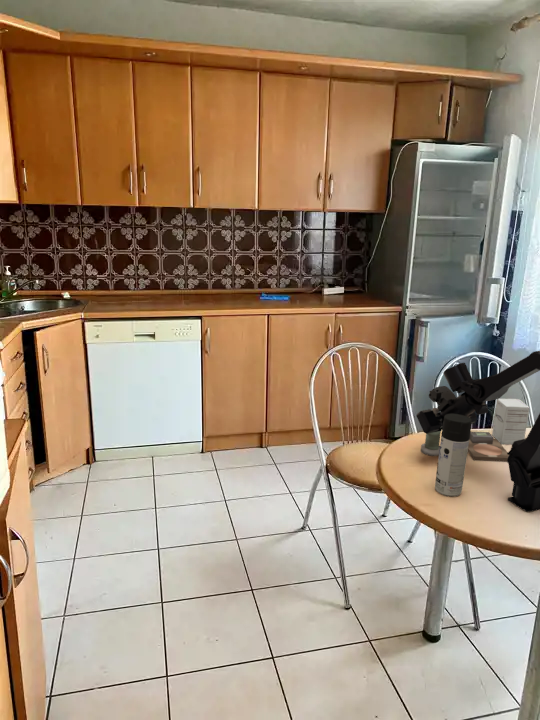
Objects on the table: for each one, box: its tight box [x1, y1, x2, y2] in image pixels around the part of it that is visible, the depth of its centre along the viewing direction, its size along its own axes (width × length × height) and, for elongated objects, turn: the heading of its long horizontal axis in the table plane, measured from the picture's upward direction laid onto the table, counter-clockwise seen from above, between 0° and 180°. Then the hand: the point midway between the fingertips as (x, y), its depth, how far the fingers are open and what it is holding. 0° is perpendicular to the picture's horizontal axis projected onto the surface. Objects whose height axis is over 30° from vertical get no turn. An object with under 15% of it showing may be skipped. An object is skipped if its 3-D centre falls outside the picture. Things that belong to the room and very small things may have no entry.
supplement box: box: [491, 398, 531, 446], centre depth 173 cm, size 7×7×13 cm
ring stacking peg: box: [420, 407, 442, 457], centre depth 163 cm, size 6×6×14 cm
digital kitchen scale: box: [467, 430, 509, 463], centre depth 166 cm, size 14×11×4 cm
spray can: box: [434, 414, 472, 498], centre depth 139 cm, size 7×7×20 cm
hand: (430, 429), depth 164 cm, fingers closed on ring stacking peg, 4 cm apart
